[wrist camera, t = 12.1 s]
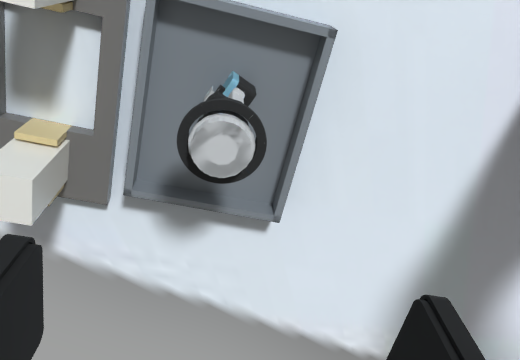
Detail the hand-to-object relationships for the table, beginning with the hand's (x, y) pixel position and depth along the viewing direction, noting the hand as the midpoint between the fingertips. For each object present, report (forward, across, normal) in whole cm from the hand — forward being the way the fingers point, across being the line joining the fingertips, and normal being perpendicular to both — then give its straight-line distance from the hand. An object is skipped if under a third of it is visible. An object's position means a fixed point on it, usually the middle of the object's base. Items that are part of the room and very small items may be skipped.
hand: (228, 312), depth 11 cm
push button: (+25, +1, +3) cm, 25 cm away
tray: (+25, +1, +3) cm, 26 cm away
